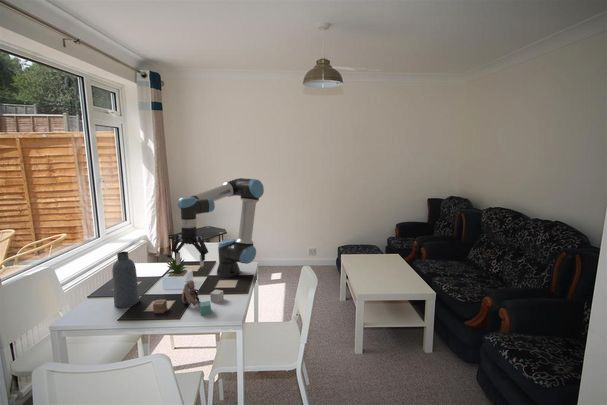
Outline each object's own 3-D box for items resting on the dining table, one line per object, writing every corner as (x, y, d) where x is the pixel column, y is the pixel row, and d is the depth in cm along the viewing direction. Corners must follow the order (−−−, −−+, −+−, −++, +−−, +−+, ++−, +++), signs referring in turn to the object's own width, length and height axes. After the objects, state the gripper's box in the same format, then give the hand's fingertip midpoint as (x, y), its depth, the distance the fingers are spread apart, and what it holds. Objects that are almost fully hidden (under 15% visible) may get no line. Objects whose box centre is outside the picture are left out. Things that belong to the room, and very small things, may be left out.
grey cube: (215, 297, 183) (215, 289, 183) (223, 299, 182) (223, 290, 181) (210, 301, 179) (210, 293, 178) (218, 303, 177) (218, 294, 176)
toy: (205, 299, 179) (198, 277, 173) (194, 310, 173) (187, 288, 166) (192, 296, 183) (185, 275, 177) (182, 307, 176) (173, 285, 170)
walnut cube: (157, 308, 171) (156, 299, 170) (166, 308, 171) (166, 299, 171) (153, 313, 166) (153, 304, 165) (163, 313, 166) (163, 303, 166)
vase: (113, 310, 169) (108, 258, 165) (114, 300, 180) (110, 251, 175) (139, 305, 175) (135, 254, 170) (139, 296, 185) (135, 248, 181)
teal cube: (200, 311, 168) (199, 302, 167) (210, 309, 170) (209, 300, 169) (200, 316, 164) (200, 306, 163) (211, 314, 165) (210, 305, 164)
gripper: (163, 226, 170) (164, 265, 173) (207, 229, 166) (208, 269, 169) (171, 223, 178) (172, 261, 180) (214, 226, 173) (214, 264, 176)
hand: (190, 265), depth 175 cm, fingers open, 13 cm apart
